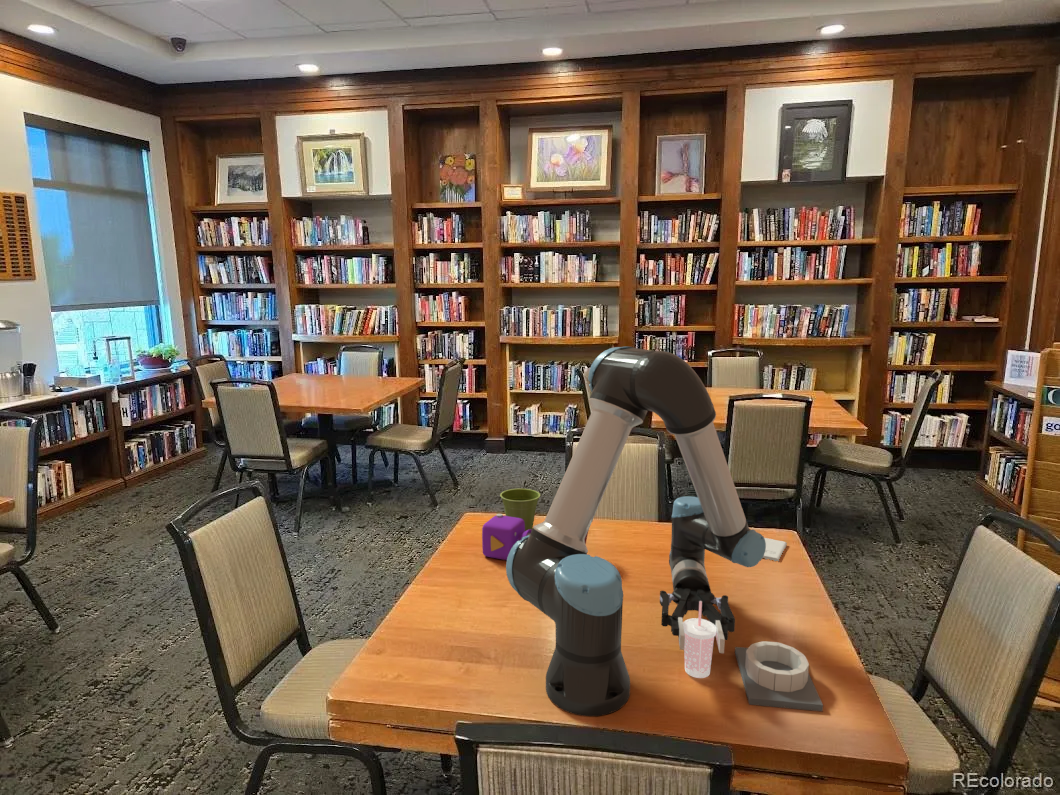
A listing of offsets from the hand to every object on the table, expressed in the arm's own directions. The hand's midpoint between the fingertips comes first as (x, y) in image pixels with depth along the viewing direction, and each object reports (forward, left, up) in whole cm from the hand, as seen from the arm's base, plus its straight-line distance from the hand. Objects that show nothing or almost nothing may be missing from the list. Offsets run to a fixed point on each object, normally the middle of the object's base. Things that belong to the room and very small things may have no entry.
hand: (702, 644), depth 112 cm
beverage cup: (0, +5, -9) cm, 10 cm away
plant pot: (-45, +69, -9) cm, 83 cm away
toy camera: (-45, +52, -9) cm, 69 cm away
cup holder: (+14, +5, -9) cm, 17 cm away
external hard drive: (+24, +65, -10) cm, 70 cm away
